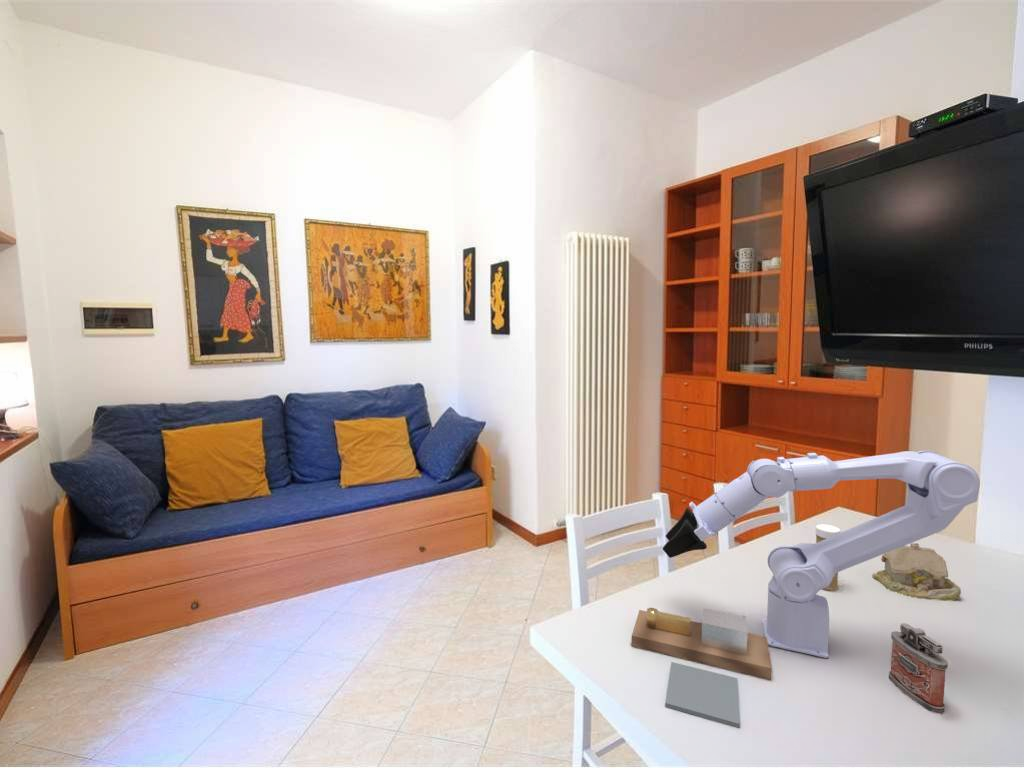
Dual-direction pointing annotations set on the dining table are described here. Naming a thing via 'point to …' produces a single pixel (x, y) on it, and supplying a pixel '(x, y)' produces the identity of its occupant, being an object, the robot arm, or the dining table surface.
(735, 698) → the mat
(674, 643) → the brown wooden board
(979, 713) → the dining table surface
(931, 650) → the lighter
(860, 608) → the dining table surface
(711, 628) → the light grey block
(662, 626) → the lever
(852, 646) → the dining table surface
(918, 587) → the ceramic model
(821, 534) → the sprinkles bottle
